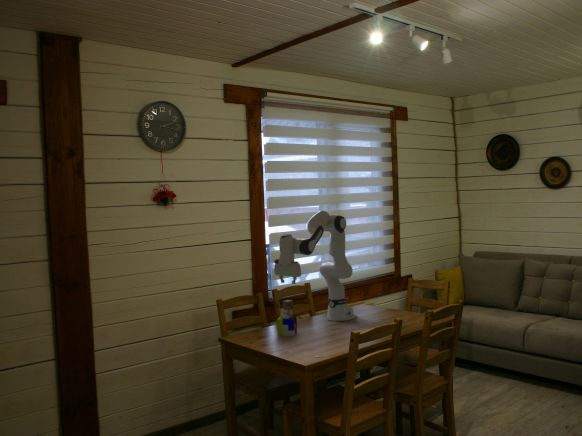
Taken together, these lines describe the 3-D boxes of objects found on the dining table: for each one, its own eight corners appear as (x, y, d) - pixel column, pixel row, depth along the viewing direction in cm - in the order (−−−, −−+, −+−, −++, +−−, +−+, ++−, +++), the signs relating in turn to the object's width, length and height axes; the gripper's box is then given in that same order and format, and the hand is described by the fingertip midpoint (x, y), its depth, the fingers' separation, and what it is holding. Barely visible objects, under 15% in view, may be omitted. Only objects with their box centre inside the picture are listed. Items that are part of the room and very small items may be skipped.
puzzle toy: (293, 336, 313) (293, 319, 313) (277, 335, 316) (277, 319, 315) (297, 332, 323) (296, 316, 323) (281, 331, 325) (280, 315, 325)
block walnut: (288, 307, 322) (287, 299, 322) (293, 308, 319) (293, 300, 319) (282, 309, 319) (282, 300, 319) (287, 309, 316) (287, 301, 316)
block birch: (286, 316, 323) (286, 307, 323) (292, 317, 319) (292, 308, 319) (280, 317, 319) (280, 309, 319) (286, 319, 316) (286, 310, 316)
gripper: (303, 261, 313) (304, 283, 314) (279, 259, 328) (280, 281, 328) (295, 262, 309) (296, 285, 309) (272, 260, 323) (273, 282, 323)
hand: (288, 283), depth 319 cm, fingers open, 8 cm apart
